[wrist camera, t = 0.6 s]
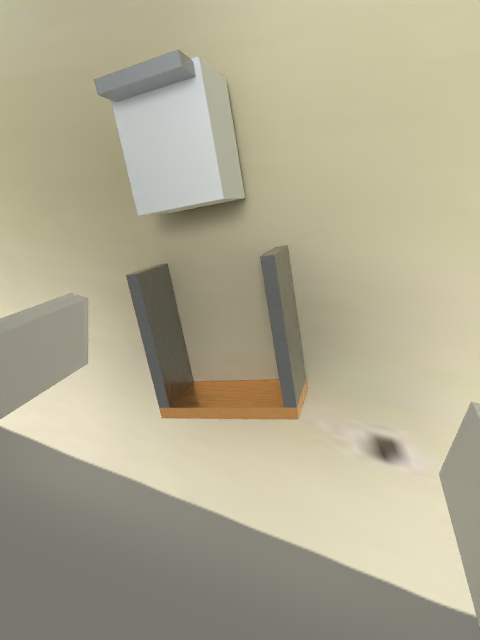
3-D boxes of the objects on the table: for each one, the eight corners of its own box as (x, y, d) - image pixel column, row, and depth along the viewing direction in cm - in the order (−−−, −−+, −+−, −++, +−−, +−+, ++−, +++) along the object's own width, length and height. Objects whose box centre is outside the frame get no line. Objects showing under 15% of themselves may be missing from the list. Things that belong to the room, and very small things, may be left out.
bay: (157, 264, 41) (126, 275, 36) (287, 245, 36) (274, 254, 31) (186, 391, 45) (162, 418, 40) (307, 389, 40) (298, 419, 35)
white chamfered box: (151, 105, 36) (87, 78, 28) (228, 81, 34) (184, 43, 25) (173, 212, 39) (121, 217, 30) (247, 198, 36) (212, 198, 28)
